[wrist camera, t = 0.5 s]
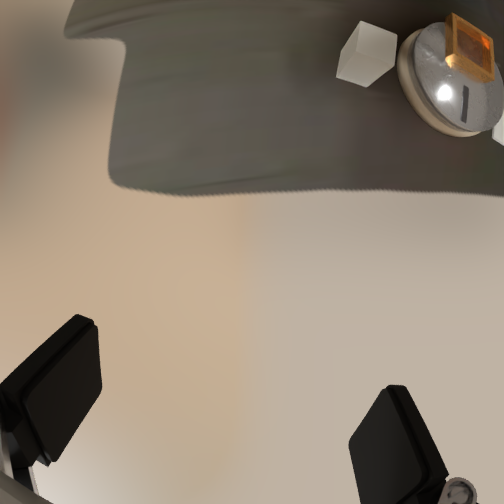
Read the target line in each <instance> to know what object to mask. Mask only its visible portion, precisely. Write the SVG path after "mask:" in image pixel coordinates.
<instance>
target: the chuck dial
mask: <svg viewBox="0 0 504 504" xmlns="http://www.w3.org/2000/svg"><path fill="white" fill-rule="evenodd" d="M407 65H408V71H409V75H410V78H411V81H412V84H413V86H414V89H415V91H416V93H417V94H418V96H419V98H420V99H421V101H422V103H423V104H424V105H425V107H426V108H427V109H428V110H429V111H430V113H431V114H432V115H433V116H434V117H435V118H437V119H438V120H439V121H440V122H441V123H443V124H444V125H446V126H447V127H449V128H451V129H453V130H456V131H459V132H466V133H467V132H478V131H485V130H489V129H491V128H493V127H494V126H495V125H496V124H497V123H498V122H499V120H500V119H501V117H502V114H503V111H504V86H503V81H502V78H501V75H500V72H499V70H498V67H497V65H496V63H495V61H494V49H493V39H492V38H490V37H489V36H488V35H486V34H485V33H483V32H482V31H481V30H479V29H478V28H476V27H475V26H473V25H472V24H470V23H469V22H467V21H465V20H464V19H462V18H461V17H459V16H457V15H456V14H454V13H451V14H450V15H448V16H447V17H446V18H445V22H437V23H433V24H431V25H429V26H427V27H426V28H425V29H423V30H422V31H421V32H420V33H418V34H417V35H416V36H415V37H414V38H413V39H412V41H411V43H410V45H409V48H408V53H407Z"/></svg>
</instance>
